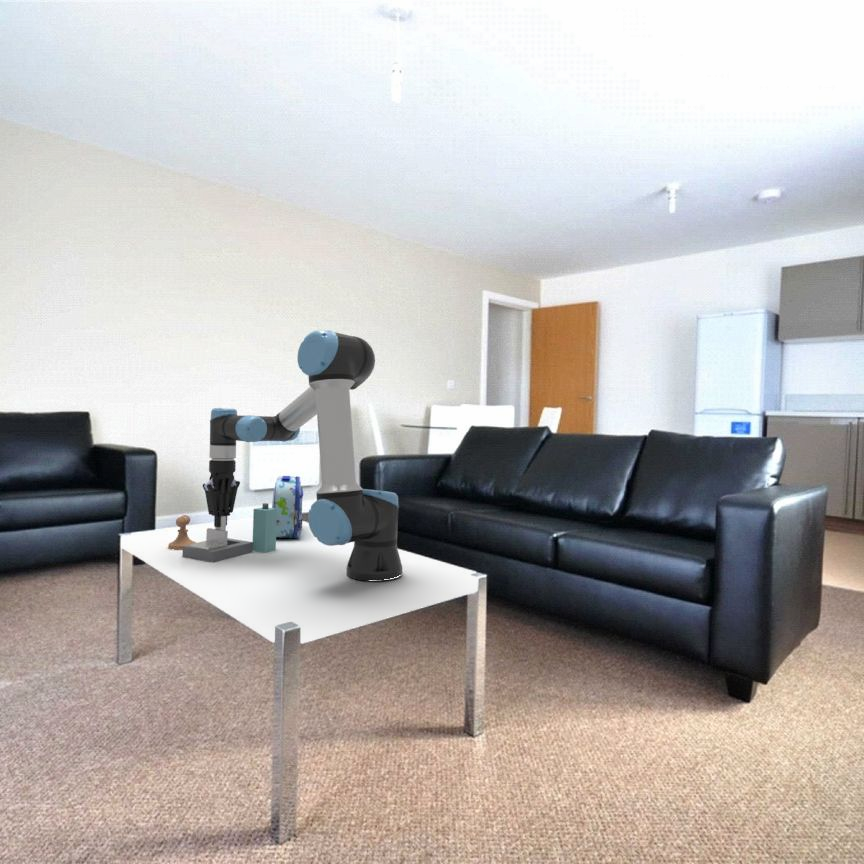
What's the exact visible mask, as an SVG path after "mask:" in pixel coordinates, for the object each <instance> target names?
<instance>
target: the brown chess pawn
mask: <svg viewBox="0 0 864 864" xmlns="http://www.w3.org/2000/svg"><path fill="white" fill-rule="evenodd" d="M190 522H191V517H190V516H189V515H187V514H185V515H184V514H183V515H181V516H180V517H178V518H177V519H176V520H175V525H176V526H177V527H178V528H179V529H178V530H177V533H178V534H177V536H176V538H175V539H174V540H173V541H171V542H169V543H168V547H169V548H170V549H169V548H168V549H169V550H172V549H174V550H173V551H183V546H187V545H190V544H193V543H197V542H196V541H193V540H192V539H191V538H190V537H189V536H188V532H189V530H188V529H187V527H186V526H187V525H189V524H190Z"/></svg>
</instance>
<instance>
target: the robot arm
mask: <svg viewBox="0 0 864 864" xmlns="http://www.w3.org/2000/svg"><path fill="white" fill-rule="evenodd" d="M297 365H298V368H299V369H300V370H301V372H302V373H303V374H305V375H306V376H307V377H308V386H309V387H308V388H307V389H305V391H303V392H302V393H301V394H300V395H299V396H297V397H296V398H295V399H294V400H293V401H291V402H290V403H289V404H288V405H287V406H286V407H284V408H283V409H282V410H280V412H278V413H277V414H276V415H274V416H267V415H266V416H265V415H264V416H262V415H261V416H260V415H251V414H250V415H249V414H248V415H238V411H237V408H228V407H224V408H222V407H221V408H220V407H214V408H212V409H211V411H210V420H209V456H208V457H209V459H210V460H209V461H208V462H209V463H208V472H209V473H210V476H209V481H208V482H206V483H202V488H203V490H204V493H205V499H206V505H207V510H208V511H207V512H208V515H209V516H213V517H214V520H213V521H214V522H213V526H214V529H219V530H225V531H227V526H228V517H229V516H231V513H233V512H234V507H235V502H236V498H237V495H238V494H237V493H238V490H239V489H238V488H239V487H240V484H241V481H239V480H236V479H235V475H234V473H235V472H236V460H235V459H236V458H237V442H238V441H239V442H246V443H257V442H289V441H294V440H296V439H297V438H298V437H299V434H300V430H301V429H300V428H302V427H303V426H304V425H305V424H306V423H308V422H309V421H310V420H312V419H313V418H314V417H315V416H317V418H316V419H317V432H318V445H319V449H318V450H319V459H320V461H319V463H320V464H319V465H320V474H321V475H320V476H321V479H320V480H321V485H320V487H319V488H318V490H317V491H316V494H315V495H316V501H315V502H313V503H312V504H311V505H310V508H309V510H308V514H307V524H308V527H309V529H310V531H311V533H312V535H313V537H314V538H316V539H317V541H318V542H319V543H321V544H323V545H325V546H329V547H331V546H332V547H334V546H345V545H346V544H349V543H353V547H352V551H351V553H350V556H349V559H348V562H347V565H346V575H347V577H349V578H350V579H353V580H356V579H357V581H362V580H384V579H390V578H394V577H397V576H399V575H401V574H402V575H403V564H402V560H401V557H400V553H399V550H398V524H399V520H398V519H399V508H400V505H399V496H398V494H397V493H395V492H392V491H387V490H386V491H384V490H376V489H367V488H362V486H360V485H359V484H358V483H357V480H356V479H357V478H356V465H355V464H356V463H355V451H354V437H353V422H352V421H353V420H352V410H351V409H352V408H351V407H352V406H351V393H350V391H353V390H356V389H357V388H358V387H359V386H361V385H362V384H363V383H364V382H366V381H367V380H368V379H369V377H370V376H371V374H372V373H373V371H374V370H375V365H376V356H375V352H374V350H373V348H372V346H371V345H370V344H369V342H367V341H366V340H365V339H364V338H361V337H358V336H354V335H353V336H352V335H347V334H346V333H345V334H344V333H339V332H334V331H333V330H322V329H317V330H313V331H311V332H309V333H308V334H307V335H306V336H305V337H304V338H303V341H302V342H300V345H299V348H298V351H297Z"/></svg>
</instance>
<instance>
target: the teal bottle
mask: <svg viewBox="0 0 864 864" xmlns="http://www.w3.org/2000/svg"><path fill="white" fill-rule="evenodd" d="M252 516H253V517H252V518H253V521H252V542H253V551H255V552H259V553H267V552H268V553H269V552H272V551H276V548H277V547H276V546H277V537H276V524H277V509H276V508H272V507H269V503H267V502H266V503H262V507H258V508H253V515H252Z"/></svg>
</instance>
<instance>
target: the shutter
mask: <svg viewBox="0 0 864 864" xmlns="http://www.w3.org/2000/svg"><path fill="white" fill-rule="evenodd" d="M228 535H229V533H228V530H226V531H225V530H219V529H215V528H212V527H211V528H210V527H208V528H206V537H205V538H206V540H203V541H199V542H196V543H193V544H190V547H194V548H200V549H206V550H211V549H215V548H219V547H223V546H227V538H228V537H229V536H228Z"/></svg>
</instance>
